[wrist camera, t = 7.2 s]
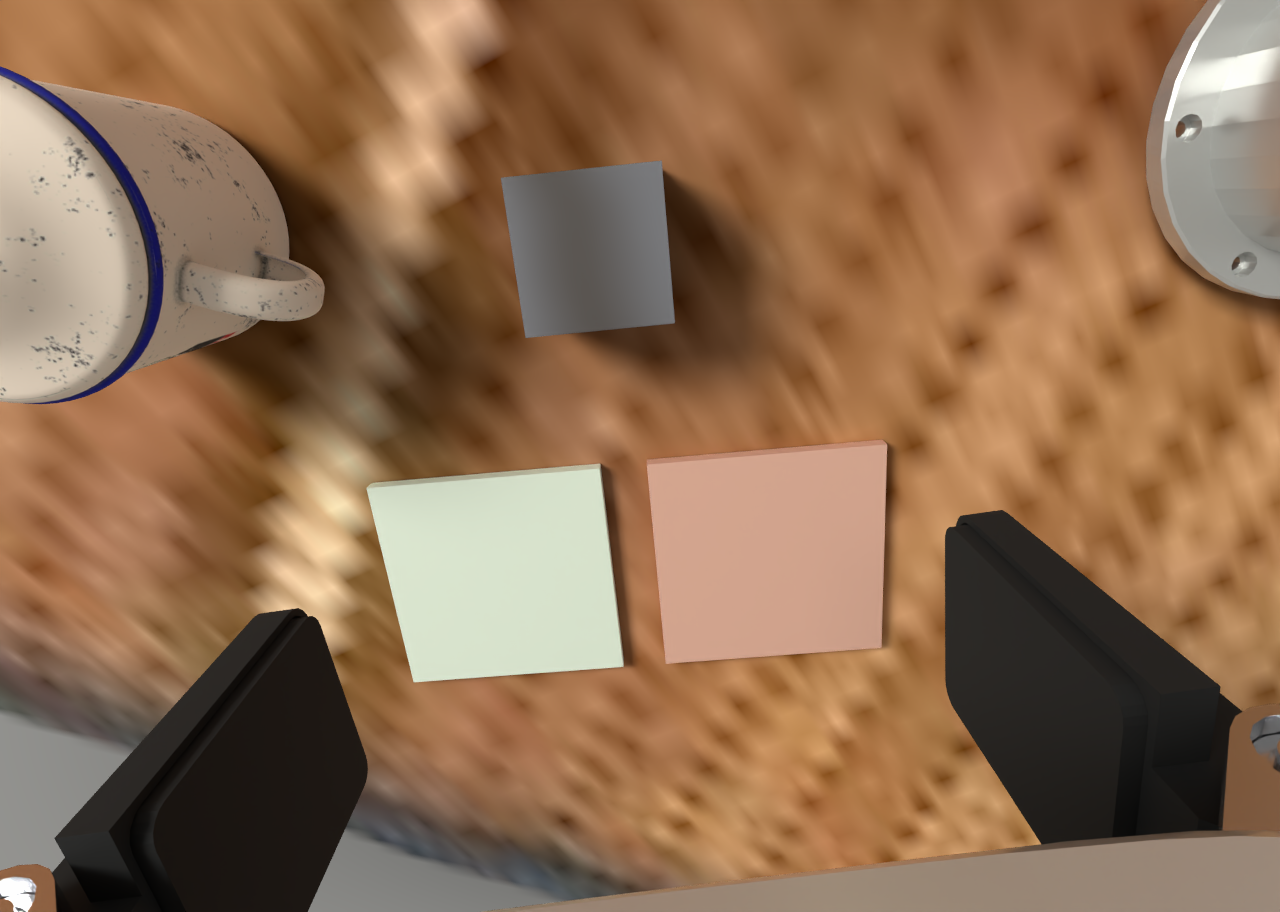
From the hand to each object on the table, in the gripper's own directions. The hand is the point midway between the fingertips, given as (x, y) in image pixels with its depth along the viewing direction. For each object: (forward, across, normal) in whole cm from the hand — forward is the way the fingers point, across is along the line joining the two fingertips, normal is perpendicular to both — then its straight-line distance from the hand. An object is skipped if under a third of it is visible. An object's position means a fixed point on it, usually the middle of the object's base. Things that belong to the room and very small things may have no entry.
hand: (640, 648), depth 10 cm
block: (+20, 0, -5) cm, 20 cm away
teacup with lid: (+20, +15, -7) cm, 26 cm away
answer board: (+20, +1, +9) cm, 22 cm away
